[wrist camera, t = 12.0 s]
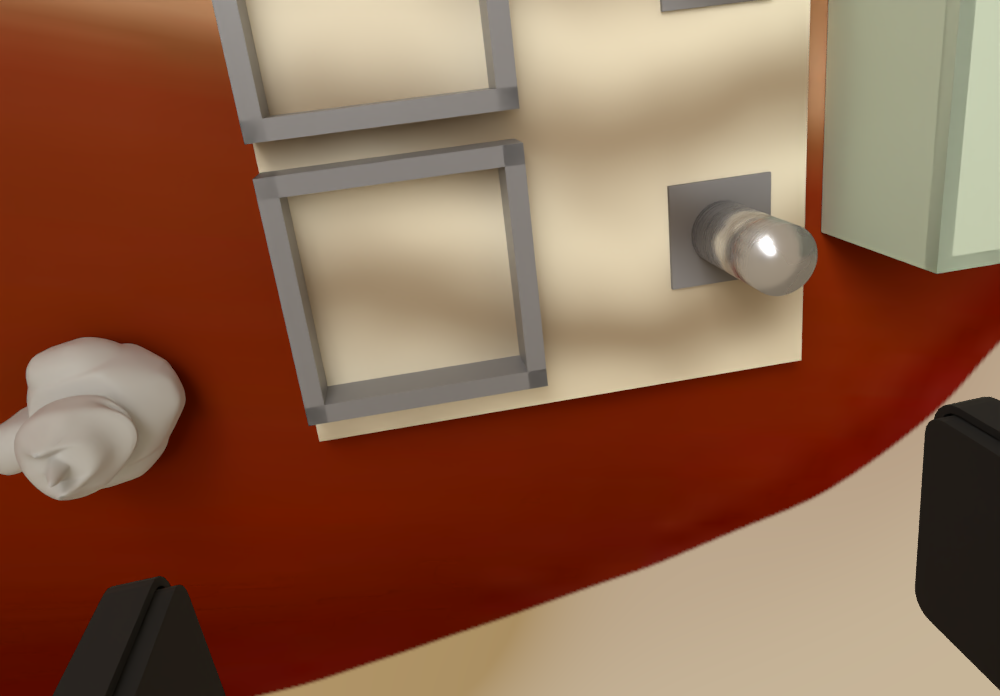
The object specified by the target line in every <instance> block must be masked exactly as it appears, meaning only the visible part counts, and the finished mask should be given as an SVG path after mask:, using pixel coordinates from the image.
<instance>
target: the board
mask: <svg viewBox="0 0 1000 696" xmlns="http://www.w3.org/2000/svg"><path fill="white" fill-rule="evenodd" d="M245 2H246V7H247V11H248V16H249V21H250V26H251V30H252V35H253V40H254V44H255V49H256V54H257V58H258V63H259V68H260V72H261V77H262V82H263V86H264V91H265V96H266V100H267V105H268V110H269V114H270V116H272V115H280V114H288V113H295V112H303V111H311V110H319V109H327V108H335V107H342V106H350V105H358V104H366V103H374V102H382V101H389V100H397V99H405V98H413V97H421V96H429V95H436V94H444V93H452V92H460V91H468V90H476V89H483V88H489V84H488V76H487V67H486V58H485V50H484V41H483V32H482V23H481V15H480V6H479V0H245ZM509 10H510V19H511V29H512V39H513V49H514V58H515V68H516V78H517V88H518V97H519V107H520V108H519V109H511V110H504V111H496V112H488V113H481V114H473V115H466V116H458V117H450V118H443V119H435V120H427V121H420V122H412V123H404V124H397V125H389V126H382V127H374V128H366V129H359V130H351V131H343V132H336V133H328V134H320V135H313V136H305V137H297V138H290V139H282V140H275V141H267V142H259V143H253V147H254V151H255V156H256V160H257V165H258V169H259V173H261V172H269V171H276V170H284V169H291V168H298V167H306V166H313V165H321V164H328V163H336V162H343V161H350V160H358V159H365V158H373V157H380V156H388V155H395V154H402V153H410V152H417V151H425V150H432V149H440V148H447V147H454V146H462V145H469V144H477V143H484V142H492V141H499V140H506V139H514V138H515V139H517V140H519V141H521V142H523V146H524V156H525V166H526V176H527V185H528V195H529V205H530V215H531V225H532V234H533V244H534V254H535V264H536V273H537V283H538V293H539V303H540V313H541V322H542V332H543V342H544V352H545V361H546V371H547V381H548V386H545V387H539V388H533V389H527V390H521V391H515V392H509V393H503V394H497V395H491V396H485V397H479V398H473V399H467V400H461V401H455V402H449V403H443V404H437V405H431V406H425V407H419V408H413V409H407V410H401V411H395V412H389V413H383V414H377V415H371V416H365V417H359V418H353V419H347V420H341V421H335V422H329V423H323V424H317V425H316V428H317V432H318V437H319V441H326V440H332V439H338V438H344V437H350V436H356V435H362V434H368V433H374V432H380V431H385V430H391V429H397V428H403V427H409V426H415V425H421V424H427V423H433V422H439V421H445V420H451V419H456V418H462V417H468V416H474V415H480V414H486V413H492V412H498V411H504V410H510V409H516V408H521V407H527V406H533V405H539V404H545V403H551V402H557V401H563V400H569V399H575V398H581V397H587V396H592V395H598V394H604V393H610V392H616V391H622V390H628V389H634V388H640V387H646V386H652V385H657V384H663V383H669V382H675V381H681V380H687V379H693V378H699V377H705V376H711V375H717V374H723V373H728V372H734V371H740V370H746V369H752V368H758V367H764V366H770V365H776V364H782V363H788V362H794V361H799V360H801V351H802V311H803V286H802V287H800V288H799V289H798V290H796V291H794V292H792V293H790V294H787V295H783V296H770V295H766V294H764V293H762V292H760V291H758V290H757V289H755V288H753V287H751V286H750V285H748V284H746V283H745V282H743V281H741V280H739V279H738V278H736V277H734V276H732V275H731V274H729V273H727V272H725V271H724V270H722V269H720V268H718V267H717V266H715V265H713V264H712V263H710V262H708V261H706V260H705V259H703V258H702V257H700V256H699V255H698V254H697V252H696V251H695V249H694V247H693V244H692V240H691V231H692V227H693V224H694V221H695V219H696V217H697V216H698V215H699V213H700V212H701V211H702V210H703V209H704V208H705V207H707V206H708V205H710V204H712V203H714V202H717V201H724V200H726V201H733V202H735V203H738V204H741V205H744V206H746V207H749V208H752V209H755V210H757V211H760V212H763V213H765V214H768V215H771V216H774V217H776V218H779V219H782V220H785V221H787V222H790V223H793V224H796V225H798V226H801V227H803V228H805V193H806V154H807V115H808V76H809V36H810V0H509ZM287 199H288V203H289V208H290V213H291V217H292V222H293V227H294V231H295V236H296V241H297V245H298V250H299V255H300V259H301V264H302V269H303V273H304V278H305V283H306V287H307V292H308V297H309V301H310V306H311V311H312V315H313V320H314V325H315V330H316V334H317V339H318V344H319V348H320V353H321V358H322V362H323V367H324V372H325V376H326V381H327V386H332V385H339V384H345V383H351V382H357V381H363V380H369V379H375V378H382V377H388V376H394V375H400V374H406V373H412V372H419V371H425V370H431V369H437V368H443V367H449V366H456V365H462V364H468V363H474V362H480V361H486V360H493V359H499V358H505V357H511V356H517V355H520V354H519V345H518V337H517V328H516V319H515V311H514V302H513V293H512V285H511V276H510V267H509V258H508V250H507V241H506V232H505V224H504V215H503V206H502V197H501V189H500V180H499V171H498V168H493V169H485V170H478V171H471V172H464V173H456V174H449V175H442V176H435V177H427V178H420V179H413V180H406V181H398V182H391V183H384V184H377V185H369V186H362V187H355V188H348V189H340V190H333V191H326V192H319V193H312V194H304V195H297V196H290V197H287Z"/></svg>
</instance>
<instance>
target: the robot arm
mask: <svg viewBox="0 0 1000 696" xmlns="http://www.w3.org/2000/svg"><path fill="white" fill-rule="evenodd" d="M915 594H916V597H917V601H918V603H919V606H920V608H921V610H922V611H923V613H924V614H925V616H926V617H927V618H928V619H929V620H930V621H931V622H932V623H933V624H934V625H935V626H936V627H937V628H938V629H939V630H940V631H941V632H942V633H943V634H944V635H945V636H946V637H947V638H948V639H949V640H950V641H951V642H952V643H953V644H954V645H955V646H956V647H957V648H958V649H959V650H960V651H961V652H962V653H963V654H964V655H965V656H966V657H967V658H968V659H969V660H970V661H971V662H972V663H973V664H974V665H975V666H976V667H977V668H978V669H979V670H980V671H981V672H982V673H983V674H984V675H985V676H986V677H987V678H988V679H989V680H990V681H991V682H992V683H993V684H994V685H995V686H996V687H997V688H998V689H999V690H1000V401H999V400H997V399H995V398H992V397H981V398H976V399H972V400H967V401H963V402H958V403H954V404H949V405H944V406H943V407H941V408H940V409H938V411H937V413H936V414H935V417H934V420H932V421H930V422H929V423H928V425H927V426H926V431H925V443H924V457H923V473H922V488H921V505H920V520H919V535H918V550H917V566H916V581H915ZM53 696H226V695H225V692H224V690H223V687H222V684H221V682H220V679H219V676H218V673H217V671H216V668H215V665H214V663H213V660H212V657H211V654H210V652H209V649H208V646H207V644H206V641H205V638H204V635H203V633H202V630H201V627H200V625H199V622H198V619H197V616H196V614H195V611H194V608H193V606H192V603H191V600H190V597H189V595H188V593H187V591H186V589H185V588H184V587H183V586H182V585H176V586H170V584H169V582H168V581H167V580H166V579H165V578H164V577H161V576H158V577H153V578H149V579H144V580H140V581H135V582H130V583H126V584H121V585H117V586H112V587H110V588H108V589H107V591H106V592H105V593H104V595H103V597H102V599H101V601H100V603H99V605H98V607H97V609H96V611H95V612H94V614H93V616H92V618H91V620H90V622H89V624H88V626H87V628H86V630H85V632H84V634H83V636H82V638H81V640H80V642H79V644H78V646H77V648H76V650H75V652H74V654H73V656H72V658H71V660H70V662H69V664H68V666H67V668H66V670H65V672H64V674H63V676H62V678H61V680H60V682H59V684H58V686H57V688H56V690H55V692H54V694H53Z"/></svg>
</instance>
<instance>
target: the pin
mask: <svg viewBox="0 0 1000 696" xmlns="http://www.w3.org/2000/svg"><path fill="white" fill-rule="evenodd" d="M691 240H692V244H693V247H694V249H695V251H696V252H697V254H698V255H699V256H700V257H702V258H703V259H705V260H706V261H708V262H710V263H712V264H713V265H715V266H717V267H718V268H720V269H722V270H724V271H725V272H727V273H729V274H731V275H732V276H734V277H736V278H738V279H739V280H741V281H743V282H745V283H746V284H748V285H750V286H751V287H753V288H755V289H757V290H758V291H760V292H762V293H764V294H766V295H770V296H783V295H787V294H790V293H792V292H794V291H796V290H798V289H799V288H800V287H802V286H803V285H804V284H805V283H806V282H807V281H808V279H809V278H810V276H811V275H812V273H813V271H814V269H815V266H816V262H817V246H816V243H815V240H814V238H813V237H812V235H811V234H810V233H809V232H808V231H807V230H806V229H805V228H803V227H801V226H798V225H796V224H793V223H790V222H787V221H785V220H782V219H779V218H776V217H774V216H771V215H768V214H765V213H763V212H760V211H757V210H755V209H752V208H749V207H746V206H744V205H741V204H738V203H735V202H733V201H726V200H724V201H717V202H714V203H712V204H710V205H708V206H707V207H705V208H704V209H703V210H702V211H701V212H700V213H699V215H698V216H697V217H696V219H695V221H694V224H693V227H692V231H691Z"/></svg>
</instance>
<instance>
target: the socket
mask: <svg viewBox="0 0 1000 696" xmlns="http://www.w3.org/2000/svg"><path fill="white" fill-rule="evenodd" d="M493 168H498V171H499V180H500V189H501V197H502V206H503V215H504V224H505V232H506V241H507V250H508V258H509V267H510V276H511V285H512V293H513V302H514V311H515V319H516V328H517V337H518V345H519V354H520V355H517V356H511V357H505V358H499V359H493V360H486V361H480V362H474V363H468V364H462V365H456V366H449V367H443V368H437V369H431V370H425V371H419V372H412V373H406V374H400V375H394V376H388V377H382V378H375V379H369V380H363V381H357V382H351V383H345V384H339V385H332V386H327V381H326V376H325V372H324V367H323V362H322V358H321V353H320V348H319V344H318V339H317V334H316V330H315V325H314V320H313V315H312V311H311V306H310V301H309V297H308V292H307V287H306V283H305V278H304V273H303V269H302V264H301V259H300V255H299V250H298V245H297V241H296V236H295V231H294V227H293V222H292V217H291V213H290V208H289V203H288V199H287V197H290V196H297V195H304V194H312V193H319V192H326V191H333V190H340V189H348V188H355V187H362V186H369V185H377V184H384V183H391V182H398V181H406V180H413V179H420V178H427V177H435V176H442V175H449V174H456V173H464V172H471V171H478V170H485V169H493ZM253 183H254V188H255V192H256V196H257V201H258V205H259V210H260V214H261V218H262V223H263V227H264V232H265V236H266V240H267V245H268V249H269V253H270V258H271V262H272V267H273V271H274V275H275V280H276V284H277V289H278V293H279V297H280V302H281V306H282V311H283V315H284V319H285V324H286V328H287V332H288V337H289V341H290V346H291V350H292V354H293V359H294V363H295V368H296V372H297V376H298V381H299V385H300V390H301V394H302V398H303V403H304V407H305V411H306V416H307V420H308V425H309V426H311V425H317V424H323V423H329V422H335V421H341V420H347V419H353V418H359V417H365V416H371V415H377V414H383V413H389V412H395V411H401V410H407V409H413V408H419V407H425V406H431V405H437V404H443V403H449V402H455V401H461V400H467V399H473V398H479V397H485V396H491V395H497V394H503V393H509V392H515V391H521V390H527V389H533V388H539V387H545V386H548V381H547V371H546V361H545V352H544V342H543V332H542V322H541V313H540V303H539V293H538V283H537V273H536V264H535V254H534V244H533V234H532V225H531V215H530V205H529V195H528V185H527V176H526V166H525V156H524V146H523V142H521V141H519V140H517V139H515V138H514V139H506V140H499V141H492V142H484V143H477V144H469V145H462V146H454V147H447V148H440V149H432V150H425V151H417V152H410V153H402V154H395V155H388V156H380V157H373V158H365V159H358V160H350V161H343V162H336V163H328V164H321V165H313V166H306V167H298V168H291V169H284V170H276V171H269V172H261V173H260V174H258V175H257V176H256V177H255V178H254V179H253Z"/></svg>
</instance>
